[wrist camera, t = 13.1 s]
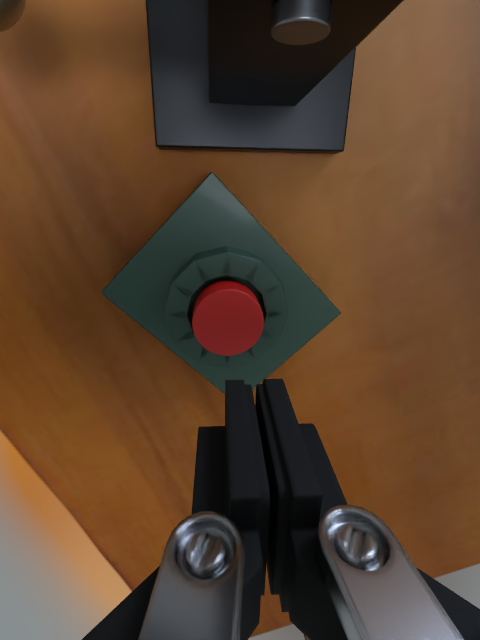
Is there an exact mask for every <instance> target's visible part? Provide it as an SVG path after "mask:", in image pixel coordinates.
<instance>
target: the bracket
mask: <svg viewBox="0 0 480 640" xmlns="http://www.w3.org/2000/svg"><path fill="white" fill-rule="evenodd" d="M402 1H403V0H146V11H147V25H148V40H149V54H150V69H151V83H152V98H153V112H154V126H155V141H156V146H157V147H158V148H160V149H181V150H219V151H258V152H296V153H335V154H336V153H339V152H342V151H343V150H344V144H345V136H346V127H347V119H348V110H349V102H350V93H351V85H352V76H353V68H354V59H355V51H356V46H357V45H358V44H359V43H360V42H361V41H362V40H364V39H365V38H366V37H367V36H368V35H369V34H370V33H371V32H372V31H373V30H374V29H375V28H376V27H377V26H378V25H379V24H380V23H381V22H382V21H383V20H384V19H385V18H386V17H387V16H388V15H389V14H390V13H391V12H392V11H393V10H394V9H395V8H396V7H397V6H398V5H399V4H400V3H401V2H402Z"/></svg>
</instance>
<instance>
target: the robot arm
mask: <svg viewBox="0 0 480 640" xmlns="http://www.w3.org/2000/svg"><path fill="white" fill-rule="evenodd" d="M266 563H267V571H268V578H269V586H270V592H271V595H276V594H279V596H280V602H281V609H282V612H289V616H290V621H291V622H292V623H293V624H294V625H295V626H296V627H297V628H298V629H299V630H300V631H301V632H302V633H303V634H304V637H305V640H480V609H479V608H477V607H475V606H474V605H472V604H471V603H469V602H468V601H466V600H465V599H463V598H462V597H460V596H459V595H457V594H456V593H454V592H453V591H451V590H450V589H448V588H447V587H445V586H444V585H442V584H441V583H439V582H438V581H436V580H435V579H433V578H431V577H430V576H428V575H427V574H425V573H424V572H422V571H421V570H419V569H418V568H416V567H415V565H414V564H413V562H412V561H411V559H410V558H409V556H408V555H407V553H406V552H405V550H404V549H403V547H402V546H401V544H400V543H399V541H398V540H397V538H396V537H395V535H394V534H393V532H392V531H391V530H390V528H389V527H388V526H387V525H386V524H385V523H384V521H383V520H381V519H380V518H379V517H377V516H376V515H375V514H374V513H372V512H370V511H368V510H366V509H364V508H362V507H358V506H353V505H347V502H346V500H345V497H344V495H343V492H342V490H341V488H340V485H339V483H338V480H337V478H336V475H335V473H334V471H333V468H332V466H331V463H330V461H329V459H328V456H327V454H326V451H325V449H324V446H323V444H322V442H321V439H320V437H319V434H318V432H317V430H316V428H315V426H314V425H313V424H298V421H297V419H296V416H295V413H294V410H293V407H292V404H291V401H290V398H289V395H288V393H287V390H286V387H285V384H284V381H283V379H264V380H263V384H257V385H256V404H255V403H254V397H253V391H252V386H251V384H244V380H225V426H212V427H199V428H198V440H197V452H196V465H195V478H194V490H193V503H192V515H190V516H188V517H187V518H185V519H184V520H182V521H181V522H180V523H179V524H178V525H177V526H176V527H175V528H174V530H173V531H172V532H171V535H170V537H169V539H168V541H167V544H166V547H165V550H164V554H163V557H162V561H161V564H160V566H159V567H158V568H157V569H156V570H155V571H154V572H153V573H152V574H151V575H150V576H148V577H147V578H146V579H145V580H144V581H143V582H142V583H141V584H140V585H139V586H138V587H137V588H136V589H135V590H134V591H133V592H132V593H130V594H129V595H128V596H127V597H126V598H125V599H124V600H123V601H122V602H121V603H120V604H119V605H118V606H117V607H116V608H115V609H114V610H113V611H112V612H110V613H109V614H108V615H107V616H106V617H105V618H104V619H103V620H102V621H101V622H100V623H99V624H98V625H97V626H96V627H95V628H93V629H92V630H91V631H90V632H89V633H88V634H87V635H86V636H85V637H84V638H83V639H82V640H248V639H249V637H250V636H251V634H252V633H253V631H254V630H255V628H256V627H257V625H258V624H259V616H260V599H261V595H264V590H265V575H266Z"/></svg>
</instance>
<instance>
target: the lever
mask: <svg viewBox="0 0 480 640" xmlns="http://www.w3.org/2000/svg"><path fill="white" fill-rule="evenodd" d="M25 4H26V0H0V32H2V31H5V30H7V29H9V28H11V27H13V26H14V25H15V24H16V23H17V22H18V20H19V19H20V17H21V16H22V13H23V11H24V8H25Z"/></svg>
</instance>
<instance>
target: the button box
mask: <svg viewBox="0 0 480 640" xmlns="http://www.w3.org/2000/svg"><path fill="white" fill-rule="evenodd" d="M223 280H231V281H236V282H239V283H242V284H244V285H245V286H247V287H248V288H249V289H251V291H252V292H253V293H254V294H255V296H256V298H257V300H258V302H259V305H260V307H261V310H262V312H263V317H264V327H263V331H262V334H261V336H260V338H259V339H258V341H257V342H256V343H255V344H254V345H253V346H252V347H251V348H250V349H248V350H246V351H245V352H242V353H240V354H236V355H230V356H225V355H218V354H215V353H213V352H210V351H209V350H207V349H206V348H204V347H203V346H202V345H201V344H200V343H199V342H198V340H197V339H196V337H195V335H194V332H193V328H192V318H193V311H194V305H195V302H196V299H197V297H198V296H199V294H200V293H201V292H202V291H203V290H204V289H205V288H206V287H207V286H209V285H211V284H213V283H215V282H218V281H223ZM101 293H102V294H103V295H104V296H105V297H107V298H108V299H109V300H110V301H111V302H113V303H114V304H115V305H116V306H118V307H119V308H120V309H121V310H123V311H124V312H125V313H126V314H127V315H129V316H130V317H131V318H132V319H134V320H135V321H136V322H137V323H138V324H140V325H141V326H142V327H143V328H145V329H146V330H147V331H148V332H150V333H151V334H152V335H153V336H154V337H156V338H157V339H158V340H159V341H161V342H162V343H163V344H164V345H165V346H167V347H168V348H169V349H170V350H172V351H173V352H174V353H175V354H177V355H178V356H179V357H180V358H181V359H183V360H184V361H185V362H186V363H188V364H189V365H190V366H191V367H193V368H194V369H195V370H196V371H197V372H199V373H200V374H201V375H202V376H204V377H205V378H206V379H207V380H208V381H210V382H211V383H212V384H213V385H215V386H216V387H217V388H218V389H220V390H221V391H222V392H223V393H224V394H225V380H244V384H251V386H252V389H254V388H255V387H256V385H257V384H259V383H261V382H262V381H263V380H264V379H265V378H266V377H268V376H269V375H270V374H271V373H272V372H273V371H274V370H276V369H277V368H278V367H279V366H280V365H281V364H283V363H284V362H285V361H286V360H287V359H288V358H290V357H291V356H292V355H293V354H294V353H295V352H297V351H298V350H299V349H300V348H301V347H302V346H303V345H305V344H306V343H307V342H308V341H309V340H310V339H312V338H313V337H314V336H315V335H316V334H317V333H319V332H320V331H321V330H322V329H323V328H324V327H326V326H327V325H328V324H329V323H330V322H331V321H333V320H334V319H335V318H336V317H337V316H338V315H339V314H341V312H340V311H339V310H338V309H337V308H336V307H335V306H334V305H333V304H332V302H331V301H330V300H329V299H328V298H327V297H326V296H325V295H324V294H323V293H322V291H321V290H320V289H319V288H318V287H317V286H316V285H315V284H314V283H313V282H312V281H311V279H310V278H309V277H308V276H307V275H306V274H305V273H304V272H303V271H302V270H301V268H300V267H299V266H298V265H297V264H296V263H295V262H294V261H293V260H292V259H291V258H290V256H289V255H288V254H287V253H286V252H285V251H284V250H283V249H282V248H281V247H280V245H279V244H278V243H277V242H276V241H275V240H274V239H273V238H272V237H271V236H270V235H269V233H268V232H267V231H266V230H265V229H264V228H263V227H262V226H261V225H260V224H259V222H258V221H257V220H256V219H255V218H254V217H253V216H252V215H251V214H250V213H249V212H248V210H247V209H246V208H245V207H244V206H243V205H242V204H241V203H240V202H239V201H238V199H237V198H236V197H235V196H234V195H233V194H232V193H231V192H230V191H229V190H228V189H227V187H226V186H225V185H224V184H223V183H222V182H221V181H220V180H219V179H218V178H217V176H216V175H215V174H214V173H213V172H211V173H210V174H209V175H208V176H207V178H206V179H205V180H204V181H203V182H202V183H201V184H200V185H199V186H198V187H197V188H196V189H195V191H194V192H193V193H192V194H191V195H190V196H189V197H188V198H187V199H186V200H185V201H184V203H183V204H182V205H181V206H180V207H179V208H178V209H177V210H176V211H175V212H174V213H173V214H172V216H171V217H170V218H169V219H168V220H167V221H166V222H165V223H164V224H163V225H162V226H161V227H160V229H159V230H158V231H157V232H156V233H155V234H154V235H153V236H152V237H151V238H150V239H149V241H148V242H147V243H146V244H145V245H144V246H143V247H142V248H141V249H140V250H139V251H138V252H137V254H136V255H135V256H134V257H133V258H132V259H131V260H130V261H129V262H128V263H127V264H126V265H125V267H124V268H123V269H122V270H121V271H120V272H119V273H118V274H117V275H116V276H115V277H114V279H113V280H112V281H111V282H110V283H109V284H108V285H107V286H106V287H105V288H104V289H103V290H102V292H101Z"/></svg>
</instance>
